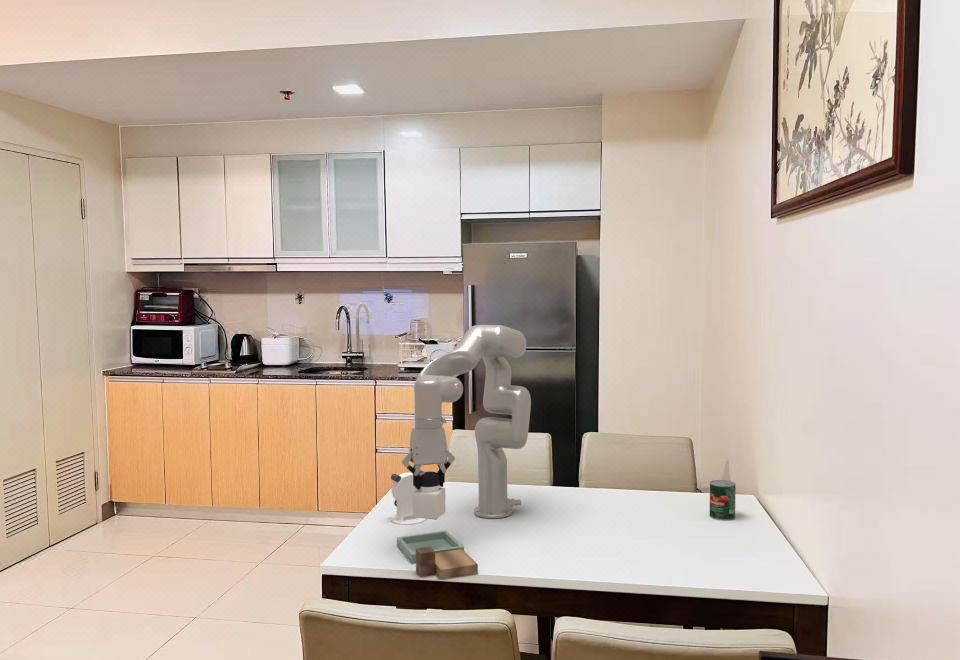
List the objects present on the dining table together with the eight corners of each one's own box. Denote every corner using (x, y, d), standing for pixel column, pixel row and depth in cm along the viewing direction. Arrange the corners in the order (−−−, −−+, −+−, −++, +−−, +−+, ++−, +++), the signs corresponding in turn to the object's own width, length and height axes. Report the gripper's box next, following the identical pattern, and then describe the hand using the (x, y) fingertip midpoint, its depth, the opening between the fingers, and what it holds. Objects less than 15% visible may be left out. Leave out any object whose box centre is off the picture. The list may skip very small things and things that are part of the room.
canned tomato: (708, 519, 228) (708, 484, 228) (710, 512, 236) (710, 478, 235) (734, 521, 225) (735, 487, 225) (735, 514, 233) (736, 481, 232)
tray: (446, 538, 212) (446, 530, 212) (464, 555, 198) (464, 546, 198) (396, 545, 206) (396, 537, 206) (411, 563, 192) (411, 554, 192)
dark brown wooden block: (430, 569, 188) (430, 546, 188) (435, 574, 185) (435, 551, 184) (416, 571, 187) (415, 548, 187) (420, 576, 183) (420, 553, 183)
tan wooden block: (462, 559, 196) (462, 548, 196) (477, 575, 185) (477, 564, 185) (427, 565, 193) (427, 554, 192) (440, 581, 181) (440, 569, 181)
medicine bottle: (445, 512, 204) (445, 470, 203) (436, 520, 197) (435, 476, 196) (422, 510, 206) (422, 469, 205) (412, 517, 199) (411, 475, 199)
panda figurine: (417, 511, 239) (417, 466, 238) (434, 520, 229) (434, 473, 229) (385, 517, 232) (384, 472, 232) (401, 527, 223) (400, 479, 222)
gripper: (452, 419, 207) (453, 480, 208) (394, 423, 200) (395, 487, 201) (462, 423, 200) (462, 487, 201) (402, 427, 193) (402, 493, 194)
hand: (428, 486), depth 201 cm, fingers closed on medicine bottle, 6 cm apart
